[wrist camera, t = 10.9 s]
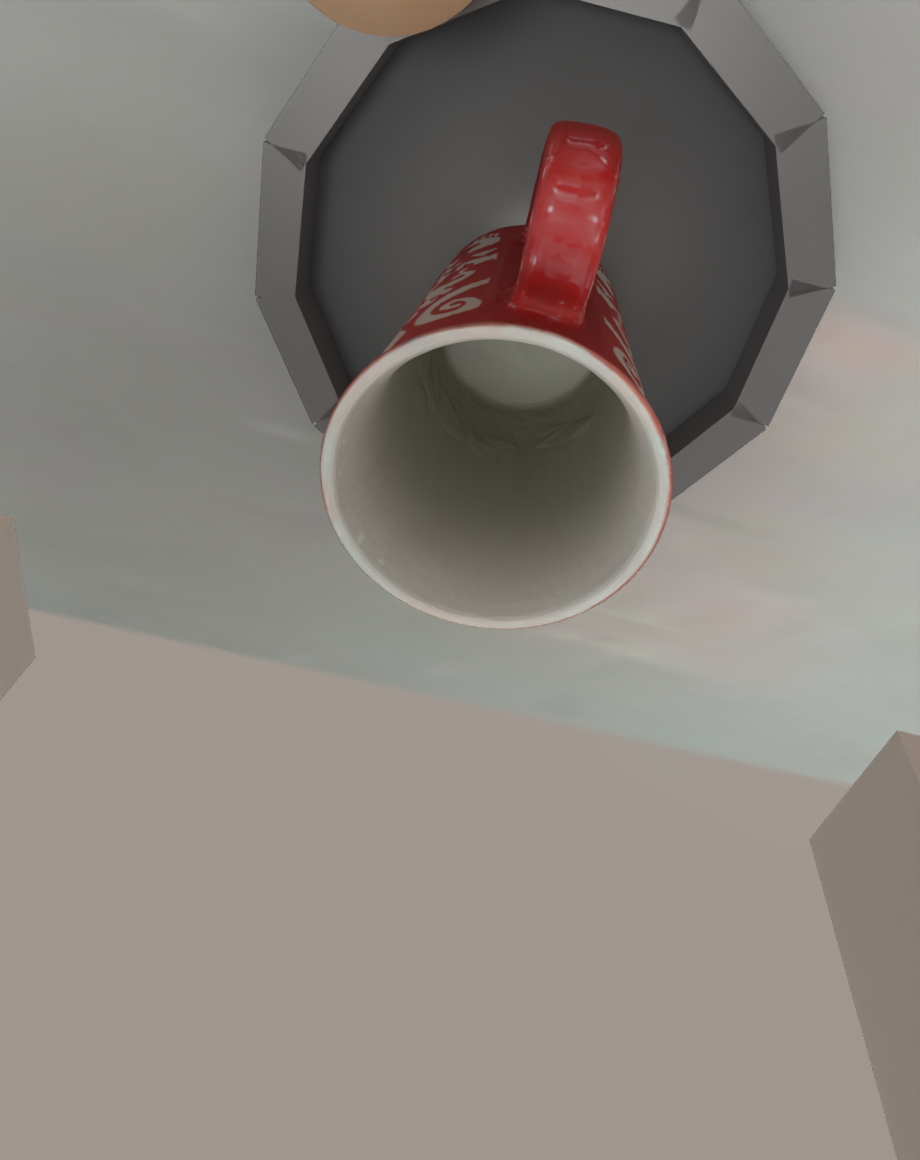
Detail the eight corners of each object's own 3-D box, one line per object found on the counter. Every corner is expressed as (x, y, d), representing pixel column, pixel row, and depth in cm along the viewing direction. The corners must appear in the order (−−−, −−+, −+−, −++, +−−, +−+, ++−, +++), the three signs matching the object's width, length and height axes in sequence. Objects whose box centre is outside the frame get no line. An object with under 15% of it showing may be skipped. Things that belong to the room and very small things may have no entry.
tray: (268, 434, 37) (246, 465, 34) (308, -135, 25) (278, -149, 22) (687, 539, 37) (694, 577, 35) (924, 30, 25) (961, 33, 23)
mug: (592, 458, 34) (594, 669, 23) (388, 394, 34) (294, 580, 23) (728, 137, 27) (824, 229, 16) (470, 49, 26) (388, 81, 15)
